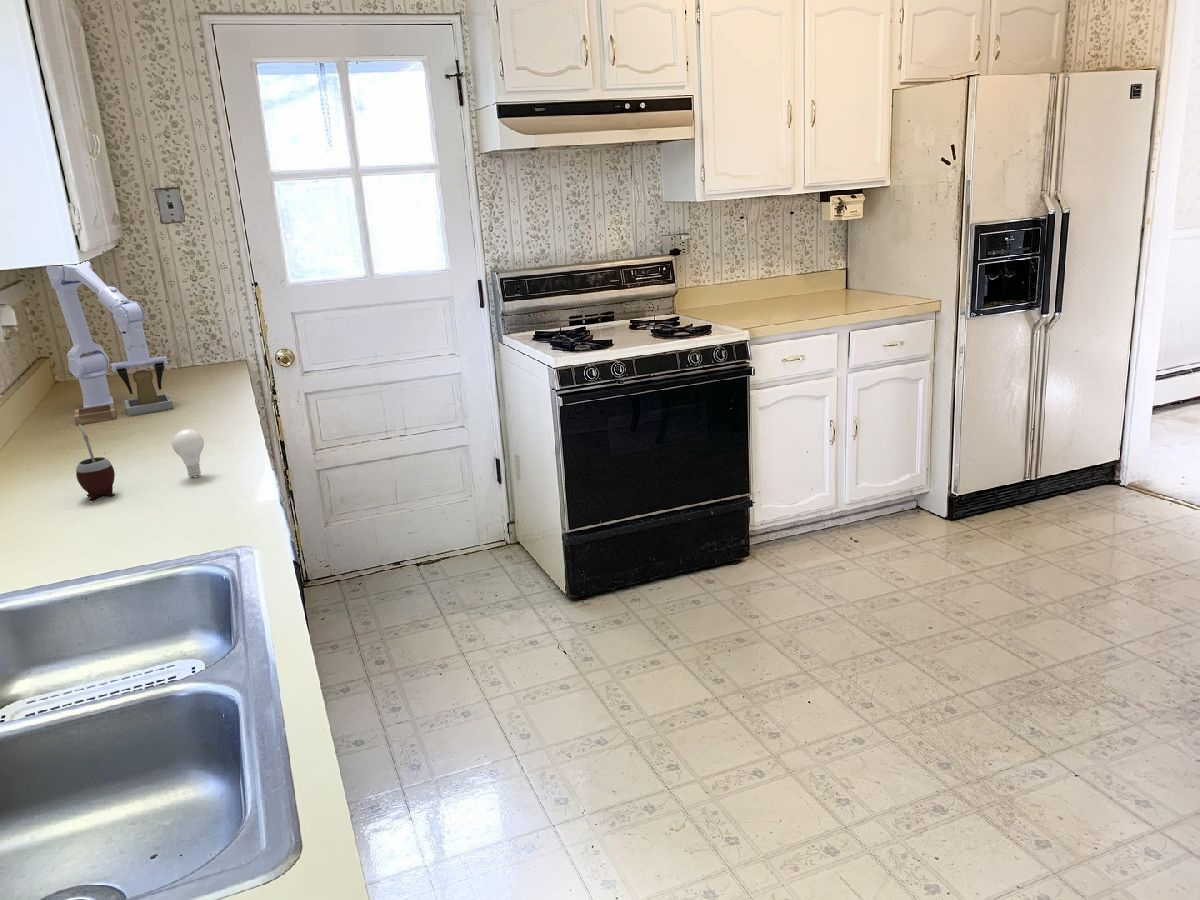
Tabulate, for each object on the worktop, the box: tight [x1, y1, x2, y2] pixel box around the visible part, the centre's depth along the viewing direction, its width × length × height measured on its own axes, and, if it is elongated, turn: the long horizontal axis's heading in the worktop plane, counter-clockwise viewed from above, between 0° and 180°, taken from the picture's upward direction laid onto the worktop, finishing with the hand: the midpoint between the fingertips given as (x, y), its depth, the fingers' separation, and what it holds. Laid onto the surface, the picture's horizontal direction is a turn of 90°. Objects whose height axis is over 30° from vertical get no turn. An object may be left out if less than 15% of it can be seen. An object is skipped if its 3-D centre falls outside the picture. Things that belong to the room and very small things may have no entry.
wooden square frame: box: [74, 403, 117, 426], centre depth 259 cm, size 10×10×2 cm
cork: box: [132, 369, 159, 406], centre depth 265 cm, size 6×6×11 cm
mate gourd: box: [75, 424, 116, 502], centre depth 192 cm, size 8×8×15 cm
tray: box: [124, 392, 174, 417], centre depth 267 cm, size 12×12×2 cm
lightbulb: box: [171, 428, 205, 478], centre depth 201 cm, size 6×6×11 cm
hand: (145, 391), depth 265 cm, fingers open, 7 cm apart
